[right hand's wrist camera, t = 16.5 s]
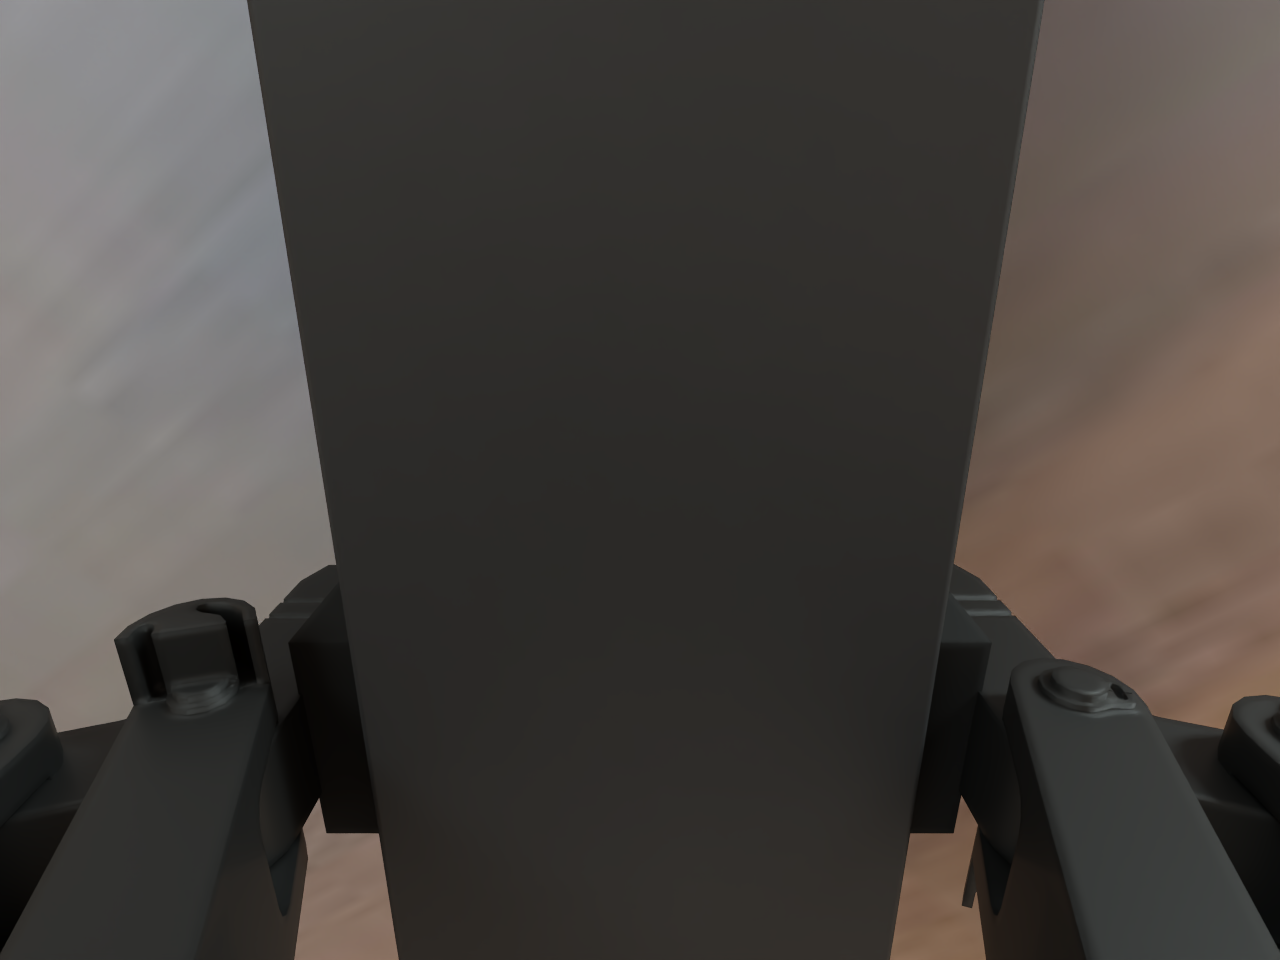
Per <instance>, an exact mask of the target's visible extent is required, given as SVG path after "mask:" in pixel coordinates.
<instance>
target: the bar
mask: <svg viewBox="0 0 1280 960" xmlns="http://www.w3.org/2000/svg"><path fill="white" fill-rule="evenodd" d="M247 3H248V9H249V16H250V22H251V28H252V34H253V41H254V47H255V53H256V60H257V66H258V72H259V79H260V85H261V91H262V98H263V104H264V110H265V117H266V123H267V129H268V136H269V142H270V148H271V155H272V161H273V167H274V174H275V180H276V186H277V192H278V199H279V205H280V211H281V218H282V224H283V230H284V237H285V243H286V249H287V256H288V262H289V268H290V275H291V281H292V287H293V294H294V300H295V306H296V312H297V319H298V325H299V331H300V338H301V344H302V350H303V357H304V363H305V369H306V376H307V382H308V388H309V395H310V401H311V407H312V414H313V420H314V426H315V433H316V439H317V445H318V451H319V458H320V464H321V470H322V477H323V483H324V489H325V496H326V502H327V508H328V515H329V521H330V527H331V534H332V540H333V546H334V553H335V559H336V565H337V572H338V578H339V584H340V590H341V597H342V603H343V609H344V616H345V622H346V628H347V635H348V641H349V647H350V654H351V660H352V666H353V673H354V679H355V685H356V692H357V698H358V704H359V711H360V717H361V723H362V729H363V736H364V742H365V748H366V755H367V761H368V767H369V774H370V780H371V786H372V793H373V799H374V805H375V812H376V818H377V824H378V831H379V837H380V843H381V850H382V856H383V862H384V868H385V875H386V881H387V887H388V894H389V900H390V906H391V913H392V919H393V925H394V932H395V938H396V944H397V951H398V957H399V960H890V955H891V948H892V942H893V936H894V930H895V924H896V917H897V911H898V905H899V899H900V892H901V886H902V880H903V874H904V868H905V861H906V855H907V849H908V843H909V837H910V830H911V824H912V818H913V812H914V806H915V799H916V793H917V787H918V781H919V775H920V768H921V762H922V756H923V750H924V744H925V737H926V731H927V725H928V719H929V713H930V706H931V700H932V694H933V688H934V682H935V675H936V669H937V663H938V657H939V651H940V644H941V638H942V632H943V626H944V620H945V613H946V607H947V601H948V595H949V589H950V582H951V576H952V570H953V564H954V558H955V551H956V545H957V539H958V533H959V526H960V520H961V514H962V508H963V502H964V495H965V489H966V483H967V477H968V471H969V464H970V458H971V452H972V446H973V440H974V433H975V427H976V421H977V415H978V409H979V402H980V396H981V390H982V384H983V378H984V371H985V365H986V359H987V353H988V347H989V340H990V334H991V328H992V322H993V316H994V309H995V303H996V297H997V291H998V285H999V278H1000V272H1001V266H1002V260H1003V254H1004V247H1005V241H1006V235H1007V229H1008V223H1009V216H1010V210H1011V204H1012V198H1013V192H1014V185H1015V179H1016V173H1017V167H1018V160H1019V154H1020V148H1021V142H1022V136H1023V129H1024V123H1025V117H1026V111H1027V105H1028V98H1029V92H1030V86H1031V80H1032V74H1033V67H1034V61H1035V55H1036V49H1037V43H1038V36H1039V30H1040V24H1041V18H1042V12H1043V5H1044V0H247Z"/></svg>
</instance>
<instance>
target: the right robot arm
mask: <svg viewBox="0 0 1280 960" xmlns="http://www.w3.org/2000/svg"><path fill="white" fill-rule="evenodd" d="M114 642H115V645H116V648H117V652H118V655H119V658H120V662H121V665H122V668H123V672H124V675H125V678H126V682H127V685H128V688H129V692H130V695H131V698H132V701H133V705H134V706H133V708H132V710H131V712H130V714H129V716H128V718H127V719H125V720H121V721H116V722H111V723H106V724H100V725H95V726H90V727H85V728H80V729H75V730H69V731H64V732H59V733H57V731H56V728H55V725H54V722H53V719H52V717H51V714H50V711H49V708H48V707H46V706H45V705H43V704H42V703H40V702H39V701H37V700H28V699H17V698H15V699H8V700H2V701H0V960H294V956H295V949H296V942H297V934H298V927H299V920H300V913H301V905H302V898H303V891H304V883H305V876H306V869H307V862H308V855H307V848H306V842H305V837H304V833H303V826H304V824H305V822H306V820H307V819H308V817H309V815H310V813H311V811H312V810H313V808H314V806H315V804H316V802H317V801H318V799H319V798H320V803H321V808H322V813H323V818H324V823H325V828H326V833H379V831H378V824H377V818H376V812H375V805H374V799H373V793H372V786H371V780H370V774H369V767H368V761H367V755H366V748H365V742H364V736H363V729H362V723H361V717H360V711H359V704H358V698H357V692H356V685H355V679H354V673H353V666H352V660H351V654H350V647H349V641H348V635H347V628H346V622H345V616H344V609H343V603H342V597H341V590H340V584H339V578H338V572H337V565H328V566H326V567H325V568H323V569H321V570H319V571H318V572H316V573H314V574H312V575H310V576H309V577H307V578H305V579H303V580H302V581H300V582H299V584H298V585H297V586H296V587H295V588H294V589H293V590H292V591H291V592H290V593H289V594H288V595H287V596H286V597H285V598H284V603H280V604H279V605H278V606H277V607H276V608H275V609H274V610H273V611H272V612H271V613H270V614H269V618H266V619H265V620H264V621H263V622H262V623H261V624H260V625H258V620H257V616H256V611H255V608H254V607H253V606H251V605H250V604H248V603H247V602H245V601H243V600H237V599H231V598H211V599H200V600H195V601H190V602H186V603H181V604H176V605H173V606H170V607H168V608H165V609H162V610H159V611H157V612H154V613H151V614H149V615H147V616H145V617H144V618H142V619H140V620H138V621H136V622H135V623H133V624H131V625H129V626H128V627H127V628H126V629H125V630H123V631H122V632H121V633H120V634H119V635H118V636H117V637H116V638H115V639H114ZM961 795H962V797H963V799H964V800H965V802H966V804H967V806H968V808H969V809H970V811H971V813H972V815H973V817H974V818H975V820H976V822H977V824H978V828H977V833H976V837H975V842H974V846H973V851H972V856H971V860H970V865H969V870H968V874H967V879H966V883H965V888H964V894H963V901H962V906H965V907H969V908H972V906H973V901H974V897H975V893H976V892H977V896H978V903H979V911H980V918H981V925H982V932H983V940H984V947H985V954H986V960H1280V697H1275V696H1268V695H1261V696H1249V697H1243V698H1242V699H1240V700H1239V701H1237V702H1236V703H1234V704H1233V705H1232V708H1231V711H1230V714H1229V717H1228V719H1227V722H1226V725H1225V728H1224V730H1223V729H1218V728H1212V727H1207V726H1202V725H1197V724H1192V723H1186V722H1181V721H1176V720H1171V719H1166V718H1161V717H1157V716H1153V715H1152V714H1151V712H1150V711H1149V709H1148V707H1147V705H1146V704H1145V703H1144V702H1143V700H1142V699H1141V698H1140V697H1139V696H1138V695H1137V693H1136V692H1135V691H1134V690H1133V689H1131V688H1130V687H1128V686H1127V685H1125V684H1124V683H1122V682H1121V681H1119V680H1118V679H1116V678H1115V677H1113V676H1111V675H1109V674H1106V673H1104V672H1102V671H1099V670H1097V669H1095V668H1092V667H1090V666H1087V665H1083V664H1079V663H1075V662H1071V661H1067V660H1063V659H1055V658H1054V657H1053V656H1052V654H1051V653H1050V652H1049V651H1048V650H1047V649H1046V648H1045V647H1044V646H1043V645H1042V644H1041V643H1040V642H1039V641H1038V640H1037V639H1036V638H1035V637H1034V635H1033V634H1032V633H1031V632H1030V631H1029V630H1028V629H1027V628H1026V627H1025V626H1024V625H1023V624H1022V623H1021V622H1020V621H1019V620H1018V619H1017V618H1016V616H1011V611H1010V610H1009V609H1008V608H1007V607H1006V606H1005V605H1004V604H1003V603H1002V602H1001V601H1000V600H997V596H996V595H995V594H994V593H993V592H992V591H991V590H990V589H989V588H988V587H987V586H986V585H985V584H984V583H983V582H982V581H981V579H980V578H978V577H976V576H974V575H973V574H971V573H969V572H967V571H965V570H964V569H962V568H960V567H958V566H956V565H955V564H953V570H952V576H951V582H950V589H949V595H948V601H947V607H946V613H945V620H944V626H943V632H942V638H941V644H940V651H939V657H938V663H937V669H936V675H935V682H934V688H933V694H932V700H931V706H930V713H929V719H928V725H927V731H926V737H925V744H924V750H923V756H922V762H921V768H920V775H919V781H918V787H917V793H916V799H915V806H914V812H913V818H912V824H911V830H910V833H954V828H955V823H956V818H957V813H958V808H959V803H960V798H961Z"/></svg>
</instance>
